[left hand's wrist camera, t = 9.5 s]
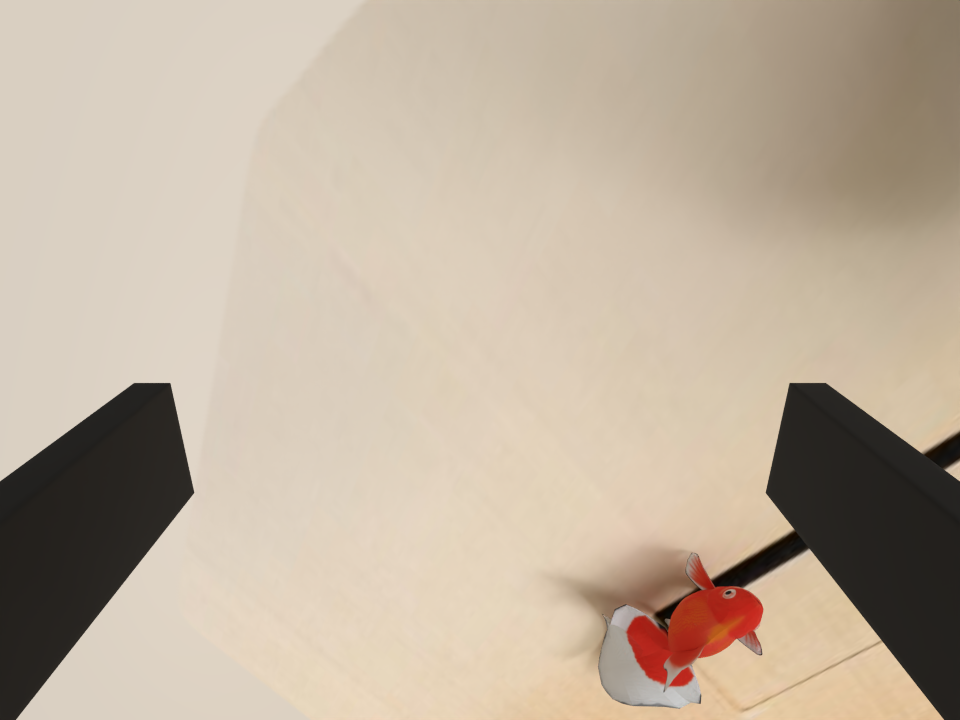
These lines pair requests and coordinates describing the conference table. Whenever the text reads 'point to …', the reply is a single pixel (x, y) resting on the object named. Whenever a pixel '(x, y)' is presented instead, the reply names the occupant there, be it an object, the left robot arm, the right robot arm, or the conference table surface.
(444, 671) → the conference table surface
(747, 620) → the fish
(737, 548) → the conference table surface
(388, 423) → the conference table surface
